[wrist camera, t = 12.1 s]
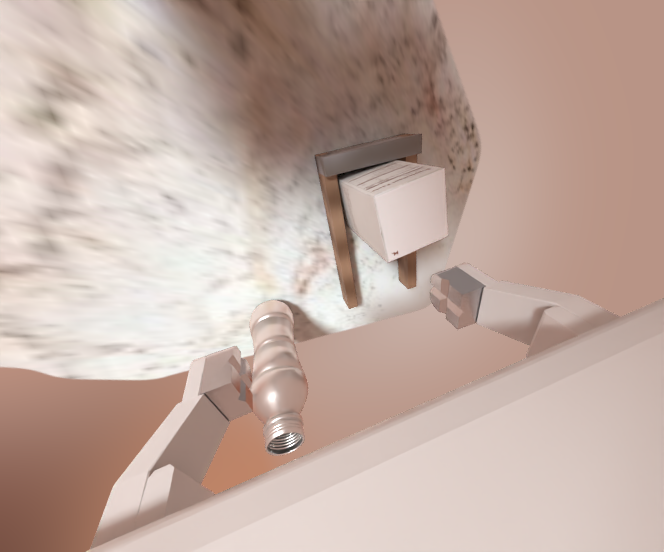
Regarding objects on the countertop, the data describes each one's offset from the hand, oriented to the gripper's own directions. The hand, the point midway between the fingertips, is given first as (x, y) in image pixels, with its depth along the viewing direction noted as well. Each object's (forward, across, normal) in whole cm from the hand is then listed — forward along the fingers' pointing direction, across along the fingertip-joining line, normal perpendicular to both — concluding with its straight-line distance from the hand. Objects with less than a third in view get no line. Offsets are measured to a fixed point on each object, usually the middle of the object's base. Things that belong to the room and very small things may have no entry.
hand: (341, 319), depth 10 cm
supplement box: (+25, -11, +4) cm, 28 cm away
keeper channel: (+25, -11, +9) cm, 29 cm away
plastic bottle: (+25, +7, +18) cm, 31 cm away
